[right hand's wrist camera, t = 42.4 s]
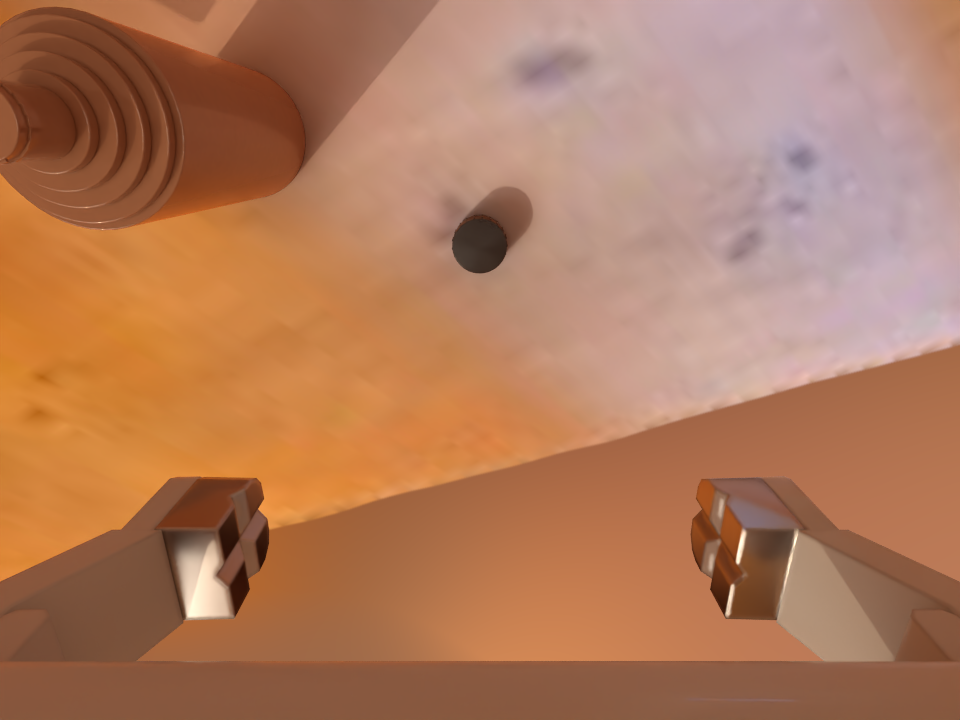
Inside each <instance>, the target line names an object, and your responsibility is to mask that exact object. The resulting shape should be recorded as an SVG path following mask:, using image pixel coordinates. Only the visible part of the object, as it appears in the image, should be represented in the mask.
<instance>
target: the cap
mask: <svg viewBox="0 0 960 720" xmlns="http://www.w3.org/2000/svg"><path fill="white" fill-rule="evenodd" d="M452 241H453V247H452V250H453V253H454V257H455V258H456V260H457V262H458V263H459V264H460V265H461V266H462V267H463V268H464V269H466V270H468V271H470V272H473V273H486V272H489V271H491V270H493V269H495V268H496V267H497V266H499V265H500V263H501V262H502V261H503V259H504V257H505V255H506V250H507V242H506V235H505V234H504V231H503V228H502V227H501V226H500V225H499V224H498V222H497V221H495V220H493V219H492V218H491V217H487V216H483V215H482V216H480V215H479V216H475V215H474V216H472V217H470V218H466V220H464V221H463V222H462V223H460V225H459V227H458V228H457V229H456V230H455V235H454V237H453V240H452Z"/></svg>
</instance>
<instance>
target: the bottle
mask: <svg viewBox="0 0 960 720" xmlns="http://www.w3.org/2000/svg"><path fill="white" fill-rule="evenodd" d="M304 152H305V133H304V127H303V123H302V119H301V117H300V114H299V112H298V110H297V108H296V106H295V104H294V102H293V101H292V99H291V98H290V97H289V95H288V94H287V93H286V92H285V91H284V89H283V88H281V87H280V86H279V85H278V84H277V83H276V82H275V81H273V80H272V79H270V78H269V77H267V76H265V75H263V74H262V73H259V72H257V71H254V70H251V69H248V68H246V67H243V66H240V65H237V64H234V63H231V62H228V61H225V60H223V59H220V58H217V57H214V56H211V55H208V54H205V53H202V52H200V51H197V50H194V49H191V48H188V47H185V46H182V45H179V44H177V43H174V42H171V41H168V40H165V39H162V38H159V37H156V36H154V35H151V34H148V33H145V32H142V31H139V30H136V29H133V28H130V27H128V26H125V25H122V24H119V23H116V22H113V21H110V20H107V19H105V18H102V17H99V16H96V15H93V14H90V13H87V12H84V11H80V10H76V9H72V8H63V7H43V8H38V9H33V10H28V11H26V12H23V13H21V14H18V15H16V16H14V17H13V18H11V19H9V20H8V21H6V22H4V23H3V24H2V25H1V26H0V173H1V175H2V176H3V177H4V178H5V179H6V180H7V181H8V182H9V184H10V185H11V186H12V187H14V188H15V189H16V190H17V191H18V192H19V193H20V194H21V195H22V196H24V197H25V198H26V199H27V200H28V201H30V202H31V203H32V204H34V205H35V206H36V207H38V208H39V209H41V210H43V211H44V212H46V213H47V214H49V215H51V216H53V217H55V218H57V219H59V220H61V221H64V222H66V223H69V224H72V225H75V226H78V227H83V228H88V229H95V230H117V229H122V228H127V227H132V226H136V225H141V224H145V223H150V222H154V221H159V220H163V219H168V218H172V217H177V216H181V215H186V214H190V213H195V212H199V211H204V210H208V209H213V208H217V207H222V206H226V205H231V204H235V203H240V202H244V201H249V200H253V199H257V198H262V197H266V196H269V195H272V194H275V193H277V192H279V191H280V190H282V189H283V188H285V187H286V186H287V185H288V184H289V183H290V182H291V181H292V180H293V178H294V177H295V176H296V174H297V172H298V171H299V169H300V166H301V164H302V161H303V157H304Z"/></svg>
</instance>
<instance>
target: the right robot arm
mask: <svg viewBox="0 0 960 720" xmlns="http://www.w3.org/2000/svg"><path fill="white" fill-rule="evenodd" d="M263 499H264V496H263V491H262V486H261V483H260V482H259V480H258V479H257V478H228V477H203V478H202V477H175V478H171V479H169V480H168V481H167V482H166V483H165V484H164V485H163V486H162V488H161V489H160V490H159V491H158V492H157V493H156V494H155V495H154V496H153V497H152V498H151V499H150V500H149V501H148V502H147V503H146V504H145V505H144V506H143V507H142V508H141V510H140V511H139V512H138V513H137V514H136V515H135V516H134V517H133V518H132V519H131V520H130V521H129V522H128V523H127V524H126V525H125V526H124V527H123V528H122V529H121V530H111V531H109V532H106V533H104V534H102V535H100V536H98V537H96V538H94V539H91V540H89V541H87V542H85V543H83V544H81V545H78V546H76V547H74V548H72V549H70V550H68V551H66V552H63V553H61V554H59V555H57V556H55V557H53V558H50V559H48V560H46V561H44V562H42V563H40V564H38V565H35V566H33V567H31V568H29V569H27V570H25V571H22V572H20V573H18V574H16V575H14V576H12V577H10V578H7V579H5V580H3V581H1V582H0V720H960V582H959V581H957V580H955V579H952V578H950V577H948V576H946V575H944V574H942V573H939V572H937V571H935V570H933V569H931V568H929V567H926V566H924V565H922V564H920V563H918V562H916V561H914V560H912V559H909V558H907V557H905V556H903V555H901V554H899V553H896V552H894V551H892V550H890V549H888V548H886V547H884V546H881V545H879V544H877V543H875V542H873V541H871V540H869V539H866V538H864V537H862V536H860V535H858V534H856V533H853V532H851V531H849V530H839V529H838V528H837V527H836V526H835V525H834V524H833V523H832V522H831V521H830V520H829V519H828V518H827V517H826V516H825V515H824V514H823V513H822V512H821V510H820V509H819V508H818V507H817V506H816V505H815V504H814V503H813V502H812V501H811V500H810V499H809V498H808V497H807V496H806V495H805V494H804V493H803V492H802V491H801V490H800V488H799V487H798V486H797V485H796V484H795V483H794V482H793V481H792V480H791V479H789V478H786V477H783V476H782V477H757V478H722V479H701V481H700V483H699V486H698V490H697V495H696V499H697V501H698V503H699V504H700V506H701V508H702V510H701V511H700V512H699V513H698V514H697V515H696V516H695V517H694V518H693V521H692V529H691V542H692V551H693V554H694V557H695V561H696V563H697V565H698V567H699V569H700V571H701V572H703V573H704V574H706V575H707V576H709V577H710V578H712V582H711V588H710V590H711V592H712V594H713V596H714V597H715V599H716V601H717V603H718V605H719V607H720V609H721V610H722V612H723V614H724V616H725V618H726V619H756V620H777V623H778V624H779V625H780V626H782V627H783V628H784V629H785V630H787V631H788V632H789V633H790V634H792V635H793V636H794V637H795V638H797V639H798V640H799V641H800V642H801V643H803V644H804V645H805V646H806V647H808V648H809V649H810V650H811V651H813V652H814V653H815V654H816V655H818V656H819V657H820V658H821V659H823V660H824V661H136V660H138V659H139V658H140V657H141V656H143V655H144V654H145V653H146V652H148V651H149V650H150V649H151V648H152V647H154V646H155V645H156V644H157V643H159V642H160V641H161V640H162V639H164V638H165V637H166V636H167V635H169V634H170V633H171V632H172V631H174V630H175V629H176V628H177V627H179V626H180V625H181V624H182V623H183V620H203V619H234V618H235V616H236V614H237V612H238V611H239V609H240V607H241V605H242V603H243V601H244V599H245V597H246V595H247V594H248V592H249V590H250V588H249V582H248V578H250V577H251V576H253V575H254V574H256V573H257V572H259V571H260V569H261V567H262V565H263V563H264V561H265V558H266V553H267V549H268V545H269V527H268V520H267V518H266V517H265V516H264V515H263V514H262V513H261V512H260V511H259V510H258V508H259V506H260V504H261V503H262V501H263Z"/></svg>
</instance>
